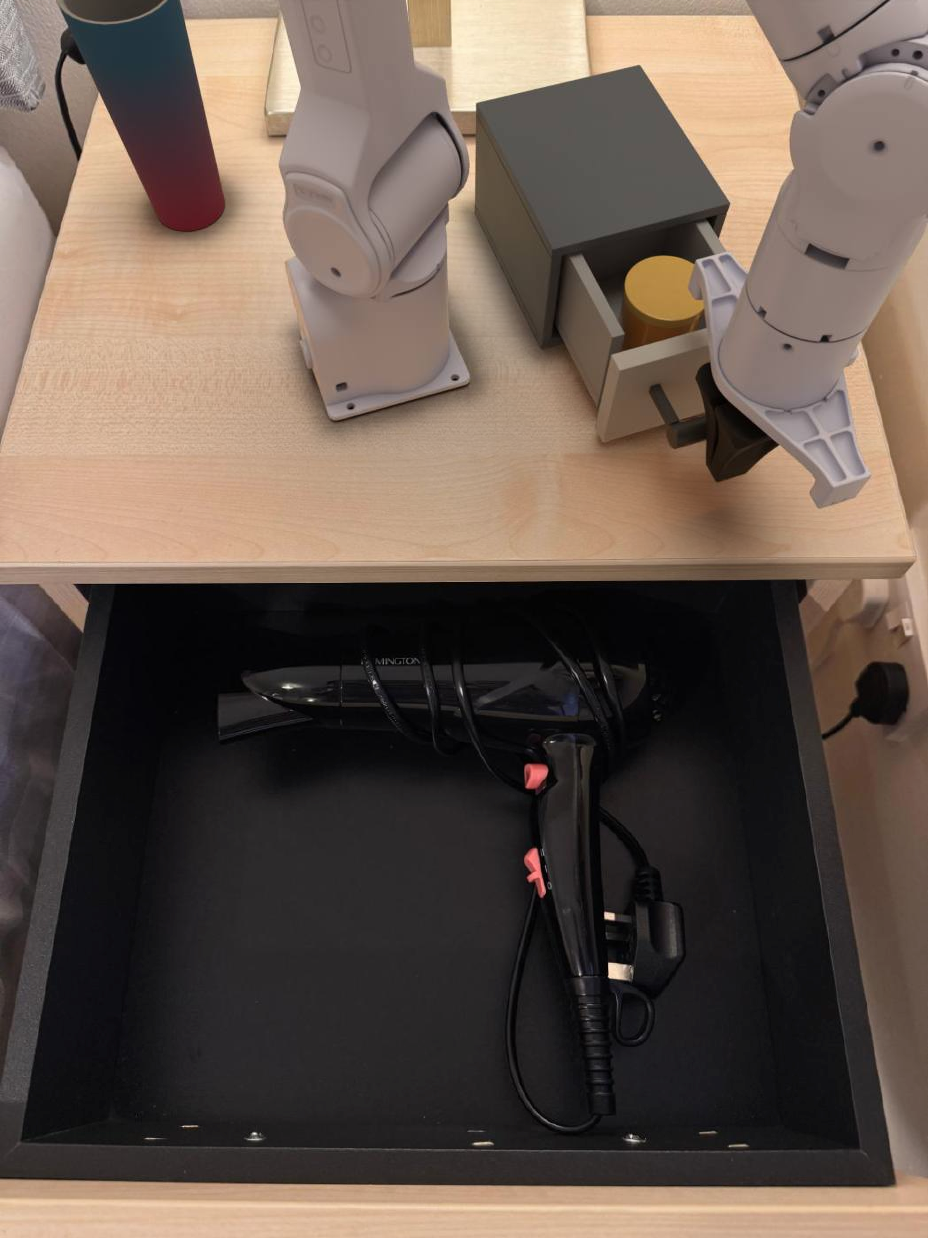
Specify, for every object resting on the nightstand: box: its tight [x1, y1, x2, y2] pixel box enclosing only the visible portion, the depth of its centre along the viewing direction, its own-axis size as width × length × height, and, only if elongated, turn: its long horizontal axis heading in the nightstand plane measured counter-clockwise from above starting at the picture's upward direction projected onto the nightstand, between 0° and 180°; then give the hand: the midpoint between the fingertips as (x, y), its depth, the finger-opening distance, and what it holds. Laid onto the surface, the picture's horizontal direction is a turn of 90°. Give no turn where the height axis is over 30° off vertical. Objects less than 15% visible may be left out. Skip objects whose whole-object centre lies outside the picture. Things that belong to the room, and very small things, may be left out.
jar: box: [618, 256, 704, 352], centre depth 53 cm, size 5×5×6 cm
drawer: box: [554, 218, 728, 450], centre depth 53 cm, size 17×10×7 cm, turn 19°
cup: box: [56, 0, 226, 232], centre depth 57 cm, size 7×7×15 cm
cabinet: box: [474, 64, 731, 350], centre depth 58 cm, size 13×11×8 cm
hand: (726, 468), depth 51 cm, fingers closed
